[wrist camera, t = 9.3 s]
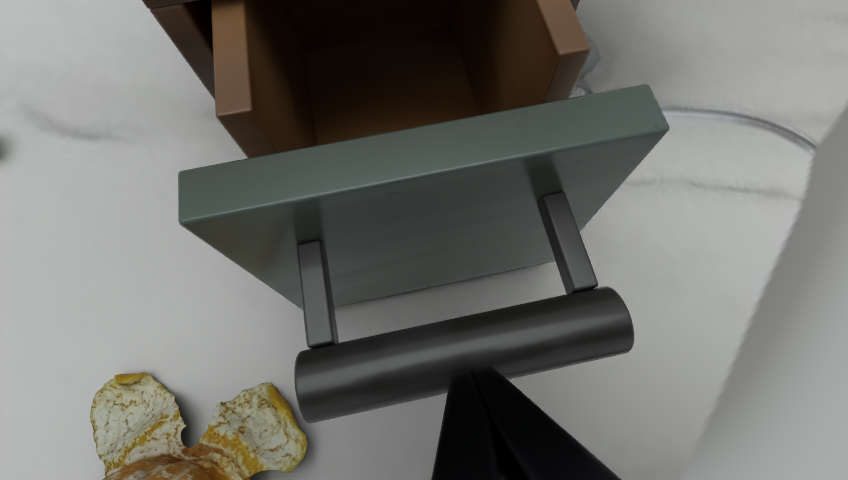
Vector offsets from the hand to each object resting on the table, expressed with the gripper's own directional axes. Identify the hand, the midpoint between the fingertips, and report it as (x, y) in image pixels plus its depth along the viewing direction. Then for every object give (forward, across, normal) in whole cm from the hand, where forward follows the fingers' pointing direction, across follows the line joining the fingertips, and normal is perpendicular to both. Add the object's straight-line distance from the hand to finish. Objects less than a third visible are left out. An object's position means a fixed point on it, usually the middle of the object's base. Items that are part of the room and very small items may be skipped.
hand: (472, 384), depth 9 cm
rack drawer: (+11, 0, -1) cm, 11 cm away
